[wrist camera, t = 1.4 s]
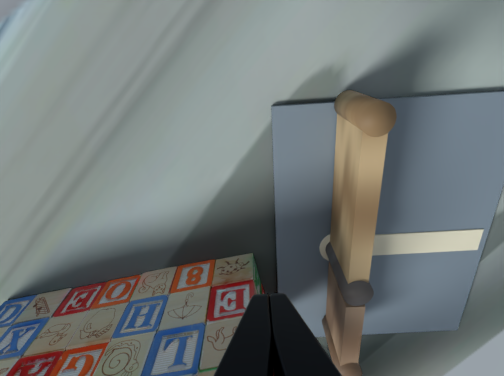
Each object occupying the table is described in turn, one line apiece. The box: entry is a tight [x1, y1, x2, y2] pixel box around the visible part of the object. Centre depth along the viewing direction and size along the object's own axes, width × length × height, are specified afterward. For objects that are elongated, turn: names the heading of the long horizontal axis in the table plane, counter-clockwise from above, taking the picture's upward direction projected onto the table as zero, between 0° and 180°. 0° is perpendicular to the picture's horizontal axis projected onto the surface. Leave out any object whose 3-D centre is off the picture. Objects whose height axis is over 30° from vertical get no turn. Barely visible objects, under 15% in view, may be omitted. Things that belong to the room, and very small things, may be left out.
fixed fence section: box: [322, 262, 365, 376], centre depth 22 cm, size 7×2×5 cm, turn 3°
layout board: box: [271, 91, 504, 337], centre depth 22 cm, size 20×16×1 cm
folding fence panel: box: [325, 90, 397, 306], centre depth 18 cm, size 12×2×5 cm, turn 3°
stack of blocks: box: [0, 253, 265, 376], centre depth 19 cm, size 21×6×12 cm, turn 103°
